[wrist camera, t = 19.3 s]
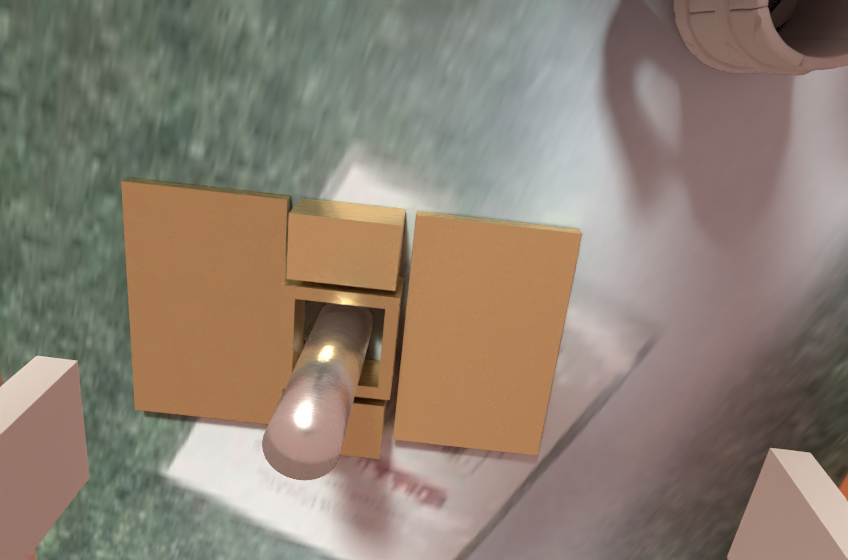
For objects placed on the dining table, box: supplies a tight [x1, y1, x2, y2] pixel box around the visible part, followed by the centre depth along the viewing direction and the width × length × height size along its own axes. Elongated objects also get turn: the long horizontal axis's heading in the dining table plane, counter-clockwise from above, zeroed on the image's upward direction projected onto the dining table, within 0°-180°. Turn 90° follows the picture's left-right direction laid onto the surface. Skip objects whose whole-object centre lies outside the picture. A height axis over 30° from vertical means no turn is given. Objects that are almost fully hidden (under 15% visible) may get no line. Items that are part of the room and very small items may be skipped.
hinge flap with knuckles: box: [287, 198, 582, 456], centre depth 42 cm, size 16×17×4 cm
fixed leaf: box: [121, 178, 404, 459], centre depth 42 cm, size 16×17×4 cm
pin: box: [262, 303, 373, 480], centre depth 37 cm, size 4×4×14 cm
